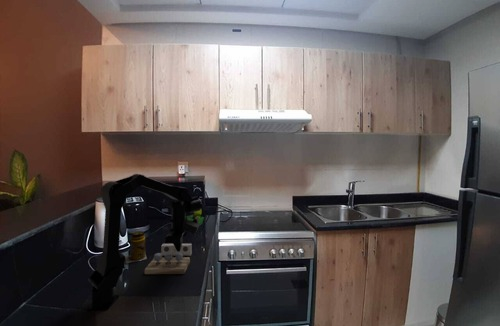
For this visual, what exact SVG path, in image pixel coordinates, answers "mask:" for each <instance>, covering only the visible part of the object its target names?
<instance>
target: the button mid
mask: <svg viewBox="0 0 500 326" xmlns="http://www.w3.org/2000/svg"><path fill="white" fill-rule="evenodd" d="M164 258H165V260H166V261H167V264H170V260H172V258H173V256H172V253H167V254H165V256H164Z"/></svg>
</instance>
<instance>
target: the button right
mask: <svg viewBox="0 0 500 326" xmlns="http://www.w3.org/2000/svg"><path fill="white" fill-rule="evenodd" d="M183 257H184V256H183V254H182V253H177V254H176V255H175V260H177V261H178V264H181V260H182V259H183Z"/></svg>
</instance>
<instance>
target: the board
mask: <svg viewBox="0 0 500 326" xmlns="http://www.w3.org/2000/svg"><path fill="white" fill-rule="evenodd" d="M190 257H191V256H190ZM190 257H189V256H187V257H185V256H183V259H182V260H181V264H178V261H177V260H175V257H174V256H173V257H172V260H170V264H167V261H166V260H165V257H162V259H161V260H160V264H157V261H155V260H154V258H152V260H151V261H150V263H148V265H147V266H146V267H145V268H144V275H176V274H177V275H183V274H184V275H185V273H186V271H187V269H188V267H189V264H190V263H191V258H190Z"/></svg>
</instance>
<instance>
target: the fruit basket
mask: <svg viewBox="0 0 500 326" xmlns="http://www.w3.org/2000/svg"><path fill="white" fill-rule="evenodd" d="M201 215H202V209H201V210H200V211H196V212H193V214H191V215H186V216H187V217H188V220H189V221H191V220H192V221H193V220H194V219H198V223H199V226H202V225H203V223H204V222H203V221H204V219H205V217H204V216H201Z"/></svg>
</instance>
